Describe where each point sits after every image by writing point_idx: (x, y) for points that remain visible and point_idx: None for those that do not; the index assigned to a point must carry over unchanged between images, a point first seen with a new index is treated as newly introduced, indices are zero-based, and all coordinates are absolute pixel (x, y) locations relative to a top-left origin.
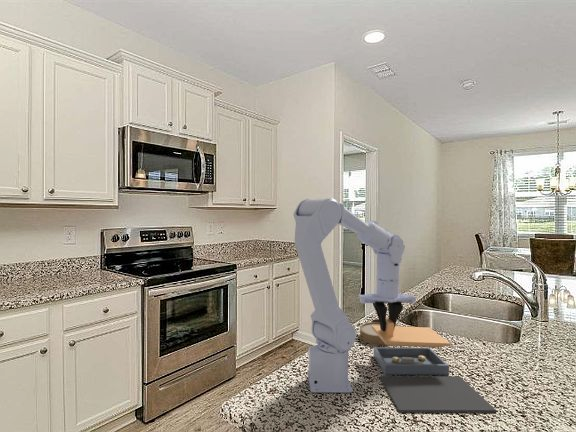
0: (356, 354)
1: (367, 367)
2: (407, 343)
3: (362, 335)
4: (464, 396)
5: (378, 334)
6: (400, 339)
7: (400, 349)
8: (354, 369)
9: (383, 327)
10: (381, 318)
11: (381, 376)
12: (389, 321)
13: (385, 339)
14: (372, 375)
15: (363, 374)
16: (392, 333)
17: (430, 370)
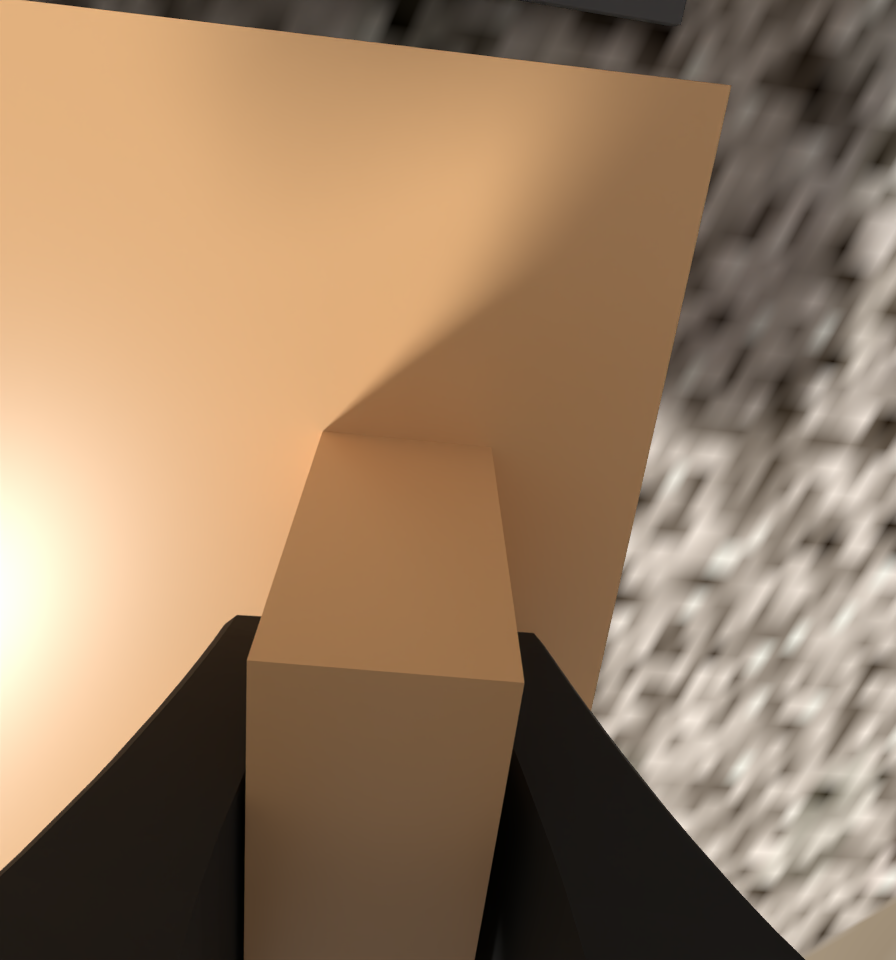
0: (633, 686)
1: (670, 360)
2: (44, 3)
3: None
4: None
5: (594, 640)
6: (189, 215)
7: None
8: (864, 327)
9: (563, 685)
10: (774, 935)
11: (657, 4)
12: (358, 834)
13: (662, 230)
14: (722, 127)
15: (826, 174)
16: (337, 473)
17: None
